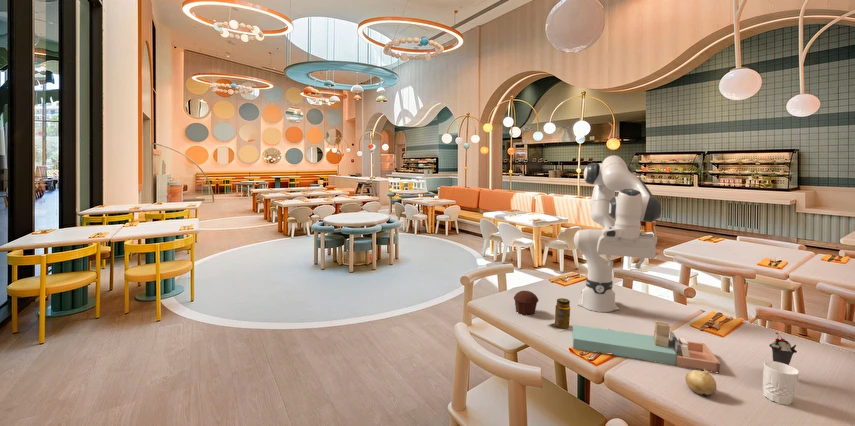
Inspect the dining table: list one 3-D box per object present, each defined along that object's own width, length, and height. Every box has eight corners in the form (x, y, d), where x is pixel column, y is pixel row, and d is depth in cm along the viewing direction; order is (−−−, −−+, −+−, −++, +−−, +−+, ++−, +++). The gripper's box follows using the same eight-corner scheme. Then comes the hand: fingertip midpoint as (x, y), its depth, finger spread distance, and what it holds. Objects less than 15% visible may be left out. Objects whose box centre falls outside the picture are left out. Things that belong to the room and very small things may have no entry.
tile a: (678, 337, 146) (685, 338, 145) (677, 350, 147) (683, 351, 146) (682, 343, 142) (688, 344, 141) (680, 356, 142) (687, 357, 141)
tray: (666, 346, 151) (667, 338, 150) (704, 352, 147) (704, 343, 146) (677, 366, 136) (678, 357, 135) (719, 373, 132) (720, 363, 131)
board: (572, 333, 161) (573, 324, 161) (666, 347, 150) (667, 337, 149) (572, 348, 148) (573, 338, 148) (675, 365, 137) (676, 354, 136)
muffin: (543, 313, 183) (544, 293, 182) (527, 318, 177) (528, 297, 176) (523, 306, 193) (524, 286, 192) (508, 310, 187) (508, 290, 186)
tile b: (678, 344, 141) (685, 343, 140) (681, 358, 140) (688, 358, 140) (680, 346, 137) (687, 346, 136) (684, 361, 136) (690, 361, 135)
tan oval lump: (713, 402, 115) (716, 380, 114) (682, 391, 121) (684, 370, 120) (716, 391, 121) (719, 369, 120) (686, 381, 126) (688, 360, 126)
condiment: (573, 327, 168) (575, 300, 167) (560, 332, 163) (562, 304, 162) (559, 321, 174) (560, 296, 173) (546, 326, 169) (548, 299, 168)
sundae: (760, 371, 133) (765, 329, 131) (778, 370, 134) (783, 329, 132) (779, 382, 127) (785, 338, 125) (798, 381, 127) (804, 338, 125)
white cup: (758, 388, 123) (762, 358, 122) (791, 396, 119) (796, 365, 117) (761, 400, 117) (765, 368, 115) (797, 409, 112) (801, 377, 111)
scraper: (651, 336, 150) (653, 317, 149) (672, 339, 148) (674, 319, 147) (657, 350, 139) (659, 328, 138) (680, 353, 137) (682, 332, 136)
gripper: (655, 232, 148) (652, 267, 150) (597, 228, 154) (595, 262, 156) (659, 235, 142) (656, 272, 144) (599, 231, 148) (596, 266, 150)
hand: (624, 267), depth 150 cm, fingers open, 8 cm apart
